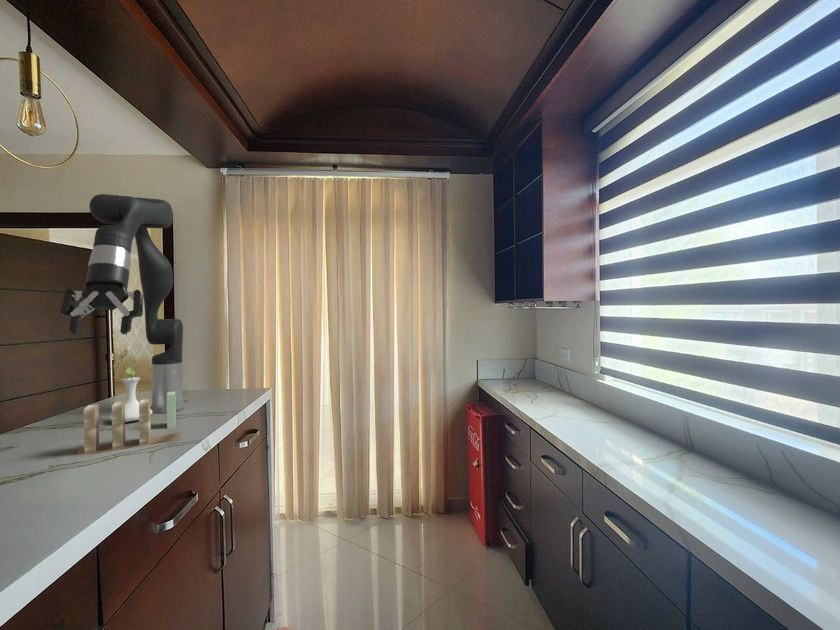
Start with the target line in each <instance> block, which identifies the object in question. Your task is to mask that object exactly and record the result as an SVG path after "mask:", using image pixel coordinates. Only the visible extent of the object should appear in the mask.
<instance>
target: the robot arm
mask: <svg viewBox="0 0 840 630" xmlns="http://www.w3.org/2000/svg"><path fill="white" fill-rule="evenodd" d="M89 211H90V213H91V215H92V216H93V217H94V219H96V220H97V221H98V222H100V223H102V224H103V223H104V224H109V225H102V226H100V227H98V228H97V229H96V231H95V233H94V234H95V235H94V241H93V246H92V251H91V254H90V257H89V261H88V263H87V264H88V265H87V266H88V268H87V273H86V278H85V279H86V281H85V287H84V289H83V290H73V289H72V288H67V289H66V290H65V292H64V296H63V299H62V300H63V301H62V303H61V308H60V310H59V312H60V314H62V315H63V316H64V317H66V318H70V324H69V328H68V330H69V332H70V333H72V335H73V336H75V337H77V336H78V337H79V336H81V333H82V327H83V322H84V320H83V318H84V317H86V316H87V314H88V315H89V314H91V313H92V312H93V311H95V310H96V311H105V310H107V311H115V309H118V310H119V311H120V313H121V314H122V315H123V316H121V323H120V330H119V331H120V334H122V335H128V333H130V332H131V330H132V325H133V324H132V322H133V319H134V318H138V317H140V318H141V317H142V316H143V312H144V317H145V318H144V320H145V321H144V322H145V323H144V324H145V325H144V326H145V336H146V340H147V343H149V344H150V345H156V346H157V345H170V347H169V348H168V349H167V350H165V351H163V352H160V353H157V354H155V355H153V356H152V357H151V407H152V408H151V410H152V411H153V413H155V414H156V413H157V414H159V413H160V414H164V413H166V414H167V393H168V392H174V391H175V407H176V412H177V411H181V410H182V409H183V408H184V401H183V400H184V398H183V397H184V394H183V393H184V391H183V389H184V388H183V387H184V385H183V383H184V382H183V378H184V377H183V343H184V342H183V339H184V338H183V337H184V325H183V322H182V320H181V319H179V318H158V314H159V313H158V312H159V310H160V308H161V305H162V304H163V302H164V300H165V299H166V297H167V296H168V295H169V294H170V292H171V290H172V289H173V286H174V276H173V268H172V264H171V263H170V261H169V260H168V259H167V257H166V256H165V255H164V254H163V253H162V251H160V250H159V248H158V247H157V246H156V245H155V243H154V241H153V240H152V237H151V236H150V233H149V231H148V228H153V229H154V228H156V229H157V228H158V229H167V228H169V227H171V226H172V224H173V222H174V211H173V207H172V206H171V204H170V203H169V202H168V201H166V200H164V199H159V198H147V197H139V196H138V197H135V196H129V195H118V194H106V193H99V194H97V195H94V196H92V198H91V199H90V201H89ZM134 239H135V240H134ZM133 241H135V245H136V250H137V251H136V252H137V257H138V271H139V278H140V285H141V291H140V289H135V290H134V291H128V288H129V280H130V272H131V261H132V260H131V253H132V245H133ZM82 297H83V298H84V299H83V300H82V301H81V302H79V304H78V306H77V307H76V303H77V301H80V299H81V298H82ZM129 298H130V300H132V302H133V304H132V310H128V308H126V306H125V305H124V304H123V303H125V302H126V301H127V300H128V299H129ZM143 309H144V310H143Z"/></svg>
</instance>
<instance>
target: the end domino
mask: <svg viewBox="0 0 840 630" xmlns="http://www.w3.org/2000/svg"><path fill="white" fill-rule="evenodd" d="M99 411H100V407H99V403H98V404H97V403H96V404H89V405H87V406H86V407H84V408H83V434H84V435H83V437H84V439H83V440H84V444H83V445H84V446H83V447H84V448H85V454H86V453H93V452H96V450H97V449H98V447H99V445H100V412H99Z"/></svg>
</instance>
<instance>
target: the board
mask: <svg viewBox="0 0 840 630" xmlns="http://www.w3.org/2000/svg"><path fill="white" fill-rule="evenodd" d="M181 440H182V432H178V433H170V434H163V435H157V436H155V435H154V436H151V439H150V442H149V444H144V445H140V440H139V438H136V439H130V440H125V444H124V446H123V448H118V449H113V445H112V442H109V443H102V444H99V447H98V449H97V450H96V452H93V453H86V454H85V448H84V446H82V447H80V448H79V450H78V451H77V452H76V453H75V455H74V456H73V458H75V457H80V456H86V455H87V456H88V455H93V454H94V455H95V454H101V453H106V452H107V453H108V452H115V451H119V450H125V449H132V448H139V447H145V446H151V445H157V444H165V443H169V442H171V443H172V442H176V441H181Z"/></svg>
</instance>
